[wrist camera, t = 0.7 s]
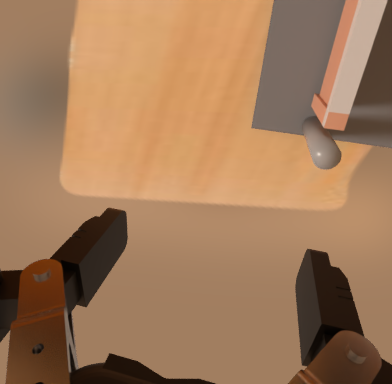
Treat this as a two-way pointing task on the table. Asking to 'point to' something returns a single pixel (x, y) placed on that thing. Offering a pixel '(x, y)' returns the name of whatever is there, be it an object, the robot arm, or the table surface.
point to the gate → (347, 61)
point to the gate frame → (321, 79)
